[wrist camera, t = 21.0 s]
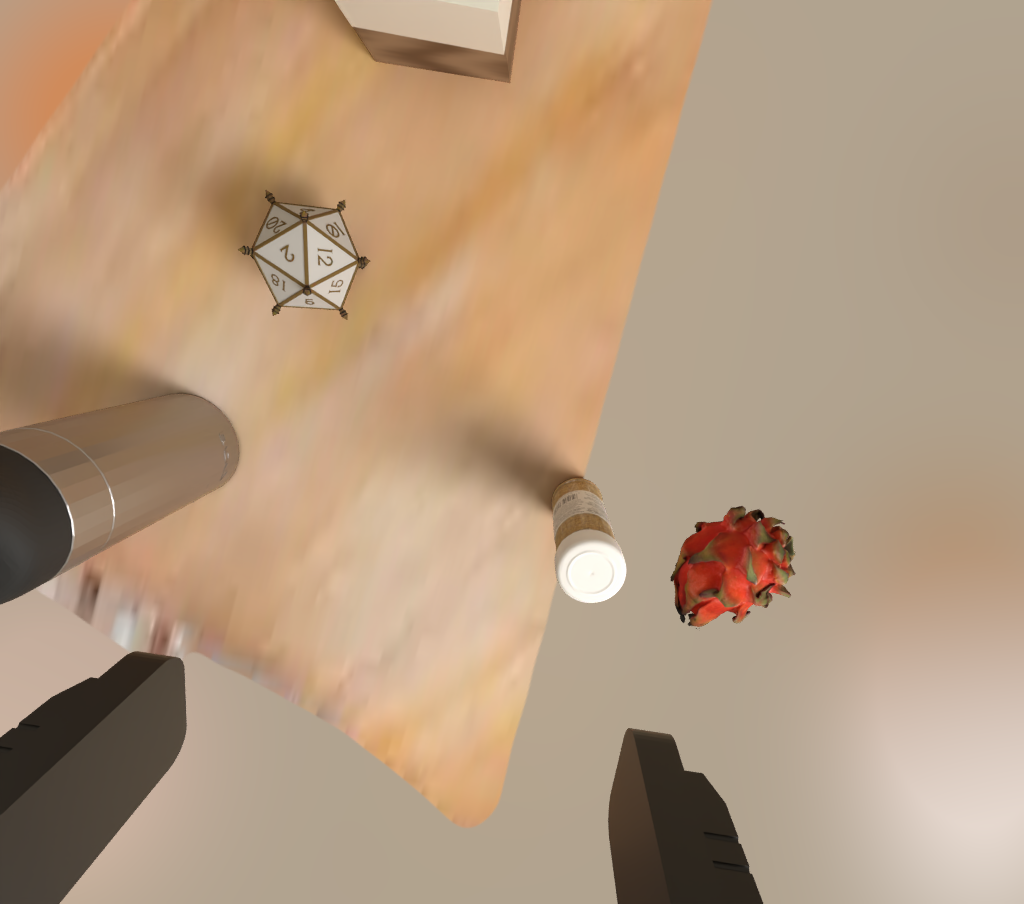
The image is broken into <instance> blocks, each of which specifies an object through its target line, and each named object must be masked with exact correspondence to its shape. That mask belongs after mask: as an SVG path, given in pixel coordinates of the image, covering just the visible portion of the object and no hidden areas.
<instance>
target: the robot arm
mask: <svg viewBox="0 0 1024 904" xmlns="http://www.w3.org/2000/svg"><path fill="white" fill-rule="evenodd" d="M238 459H239V445H238V440H237V437H236V434H235V431H234V429H233V427H232V425H231V423H230V422H229V420H228V419H227V418H226V416H225V415H224V414H223V413H222V412H221V411H220V410H219V409H218V408H217V407H215V406H214V405H213V404H211V403H210V402H208V401H206V400H204V399H203V398H200V397H197V396H194V395H190V394H182V393H180V394H170V395H165V396H160V397H156V398H151V399H147V400H142V401H137V402H133V403H128V404H124V405H119V406H115V407H110V408H106V409H101V410H97V411H92V412H88V413H83V414H79V415H74V416H70V417H65V418H61V419H56V420H52V421H47V422H43V423H38V424H34V425H29V426H25V427H20V428H16V429H11V430H7V431H3V432H0V604H3V603H5V602H8V601H11V600H13V599H15V598H17V597H19V596H22V595H23V594H25V593H27V592H29V591H31V590H33V589H35V588H36V587H38V586H40V585H42V584H44V583H45V582H47V581H49V580H51V579H53V578H55V577H57V576H59V575H60V574H62V573H64V572H66V571H68V570H70V569H71V568H73V567H75V566H77V565H79V564H81V563H82V562H84V561H86V560H88V559H90V558H91V557H93V556H95V555H97V554H99V553H100V552H102V551H104V550H106V549H108V548H110V547H111V546H113V545H115V544H117V543H119V542H121V541H122V540H124V539H126V538H128V537H130V536H132V535H133V534H135V533H137V532H139V531H141V530H143V529H144V528H146V527H148V526H150V525H152V524H154V523H155V522H157V521H159V520H161V519H163V518H165V517H166V516H168V515H170V514H172V513H174V512H176V511H177V510H179V509H181V508H183V507H185V506H187V505H188V504H190V503H192V502H194V501H196V500H198V499H200V498H201V497H203V496H205V495H207V494H208V493H210V492H212V491H214V490H216V489H217V488H219V487H221V486H223V485H224V484H225V483H226V482H227V481H228V480H229V479H230V478H231V477H232V475H233V473H234V472H235V470H236V467H237V464H238ZM185 734H186V699H185V674H184V664H183V662H182V660H181V659H180V658H177V657H171V656H165V655H158V654H152V653H145V652H139V651H137V652H132V653H130V654H128V655H126V656H125V657H124V658H122V659H121V660H120V661H119V662H117V663H116V664H115V665H114V666H113V667H111V668H110V669H109V670H108V671H107V672H105V673H104V674H103V675H102V676H101V677H99V678H89V679H87V680H85V681H83V682H81V683H79V684H77V685H75V686H73V687H71V688H69V689H67V690H65V691H63V692H61V693H59V694H57V695H55V696H53V697H51V698H50V699H49V700H48V701H46V702H45V703H44V704H42V705H41V706H40V707H39V708H37V709H36V710H35V711H34V712H32V713H31V714H30V715H28V716H27V717H26V718H25V719H23V720H22V721H21V722H20V723H19V725H18V727H17V728H12V729H11V730H9V731H8V732H7V733H6V734H4V735H3V736H2V737H0V904H59V903H60V902H61V901H62V900H63V898H64V897H65V896H66V895H67V894H68V892H69V891H70V890H71V889H72V887H73V886H74V885H75V884H76V882H77V881H78V880H79V879H80V878H81V876H82V875H83V874H84V873H85V871H86V870H87V869H88V868H89V867H90V865H91V864H92V863H93V862H94V860H95V859H96V858H97V857H98V855H99V854H100V853H101V852H102V851H103V849H104V848H105V847H106V846H107V844H108V843H109V842H110V841H111V839H112V838H113V837H114V836H115V834H116V833H117V832H118V831H119V830H120V828H121V827H122V826H123V825H124V823H125V822H126V821H127V820H128V819H129V817H130V816H131V815H132V814H133V812H134V811H135V810H136V809H137V808H138V806H139V805H140V804H141V803H142V801H143V800H144V799H145V798H146V797H147V795H148V794H149V793H150V792H151V790H152V789H153V788H154V787H155V786H156V784H157V783H158V782H159V781H160V779H161V778H162V777H163V776H164V774H165V773H166V772H167V771H168V770H169V768H170V767H171V766H172V764H173V763H174V761H175V759H176V758H177V756H178V754H179V752H180V750H181V747H182V745H183V741H184V738H185ZM608 823H609V840H610V848H611V855H612V863H613V871H614V878H615V886H616V894H617V901H618V904H763V902H762V899H761V896H760V894H759V891H758V889H757V886H756V883H755V880H754V878H753V875H752V874H750V873H749V864H748V862H747V859H746V856H745V854H744V851H743V848H742V846H741V844H739V843H738V835H737V832H736V830H735V827H734V824H733V822H732V819H731V816H730V814H729V811H728V808H727V806H726V803H725V802H724V801H723V799H722V798H721V797H720V795H719V794H718V793H717V792H716V790H715V789H714V788H713V786H712V785H711V784H710V782H709V781H708V780H707V778H706V777H705V776H704V774H702V773H696V772H690V771H684V768H683V765H682V762H681V759H680V756H679V752H678V749H677V746H676V743H675V740H674V738H673V737H672V735H670V734H664V733H658V732H651V731H645V730H638V729H632V728H628V729H627V731H626V733H625V735H624V739H623V744H622V748H621V752H620V756H619V761H618V765H617V769H616V773H615V778H614V782H613V786H612V790H611V795H610V802H609V818H608Z"/></svg>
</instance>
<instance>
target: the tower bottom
mask: <svg viewBox="0 0 1024 904" xmlns="http://www.w3.org/2000/svg"><path fill="white" fill-rule="evenodd" d="M520 6H521V0H512V5H511V12H510V19H509V25H508V32H507V38H506V45H505V51H504V55H502V54H497V53H491V52H486V51H481V50H475V49H470V48H465V47H459V46H454V45H449V44H443V43H438V42H432V41H427V40H422V39H416V38H411V37H406V36H400V35H395V34H390V33H384V32H379V31H374V30H368V29H363V28H357V27H353V28H354V29H355V31H356V32H357V34H358V35H359V37H360V39H361V40H362V42H363V43H364V45H365V46H366V48H367V49H368V51H369V52H370V54H371V55H372V57H373V58H374V60H375V61H376V62H382V63H388V64H395V65H401V66H407V67H413V68H420V69H426V70H432V71H438V72H445V73H451V74H457V75H464V76H470V77H476V78H482V79H489V80H495V81H501V82H507V83H510V80H511V72H512V65H513V58H514V50H515V43H516V36H517V28H518V21H519V14H520Z"/></svg>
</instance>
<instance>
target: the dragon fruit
mask: <svg viewBox="0 0 1024 904" xmlns="http://www.w3.org/2000/svg"><path fill="white" fill-rule="evenodd" d="M745 510H746V509H745V508H744V507H743V506H740V507H736V508H731V509H730V510H729V511H728V513H727V515H725V516H724V520H723V521H721V522H711V523H706V522H697V524H696V525H695V527H696V532H698V533H695V534H693V535H691V536H690V537H689V538H687V539H686V540H685V542H684V544H683V546H682V548H681V551H680V555H679V558H678V562H677V563H676V565H675V566H676V568H675V571H674V572H673V574H672V576H671V581H673V580H674V585H675V606H676V609H677V611H678V613H679V614H680V615H681V616H680V619H681V621H682V622H683V623H684V622H685V617H684V615H686V614H687V613H689V612H690V611H692V612H693V613H694V614H693V613H692V614H688V616H689V619H690V622H689V623H688V625H689V626H690V625H691V626H697V627H700V626H704V625H706V624H708V623H709V622H710V621H712V620H713V619H716V618H717V617H718V616H719V615H720V614H722V613H724V612H726V611H730V612H733V613H735V614H736V616H734V617H733V618H732V619H733V622H734V623H739V622H741V621H742V620H743V619H744V618H746V617H747V615H748V614H750V611H747V610H748V608H749V607H750V606H751V605H753V604H754V605H756V606H763V607H764V608H767V607H768V605H769V603H770V602H771V601H772V595H771V594H770V593H776V594H780V595H783V596H786V597H788V598H789V597H790V596H791V594H790V593H789V592H788V591H787V590H786V588H785V587H784V586H783V585H784V584H786V583H787V581H788V578H789V577H790V576H792V575H795V573H794V571H793V569H792V566H791V564H790V562H791V560H792V559H793V557H794V556H795V553H794V552H795V551H794V549H793V537H791V536H789V534H788V532H787V531H786V530H784V529H782V528H781V527H780V526H775V527H773V526H774V525H776V524H779V523H782V524H785V523H783V522H781V520H778V519H775V518H772V517H770V518H765V517H764V514H763V513H762V511H761V510H754V511H750V512H748V514H746V515H745ZM759 518H761V521H758V522H756V521H757V520H758V519H759ZM788 537H789V538H788ZM787 538H788V539H787Z"/></svg>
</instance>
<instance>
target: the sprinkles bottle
mask: <svg viewBox="0 0 1024 904" xmlns="http://www.w3.org/2000/svg"><path fill="white" fill-rule="evenodd" d="M552 510H553V527H554V540H555V544H556V554H555V571H556V577H557V581H558V583H559V585H560V587H561V588H562V590H563V591H564V592H565V593H566V594H567V595H569V596H570V597H572V598H573V599H575V600H578V601H581V602H586V603H595V602H600V601H604V600H606V599H608V598H610V597H612V596H613V595H614V594H615V593H617V591H618V590H619V589H620V588H621V586H622V585H623V583H624V580H625V576H626V563H625V559H624V556H623V553H622V550H621V548H620V546H619V544H618V543H617V542H616V541H615V538H614V533H613V530H612V527H611V524H610V521H609V518H608V515H607V512H606V509H605V506H604V504H603V502H602V495H601V493H600V491H599V489H598V488H597V487H596V485H594V484H593V483H592V482H591V481H588V480H586V479H581V478H573V479H569V480H567V481H564V482H563V483H562V484H560V485H559V486H558V487H557V488H556V490H555V491H554V493H553V497H552Z"/></svg>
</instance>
